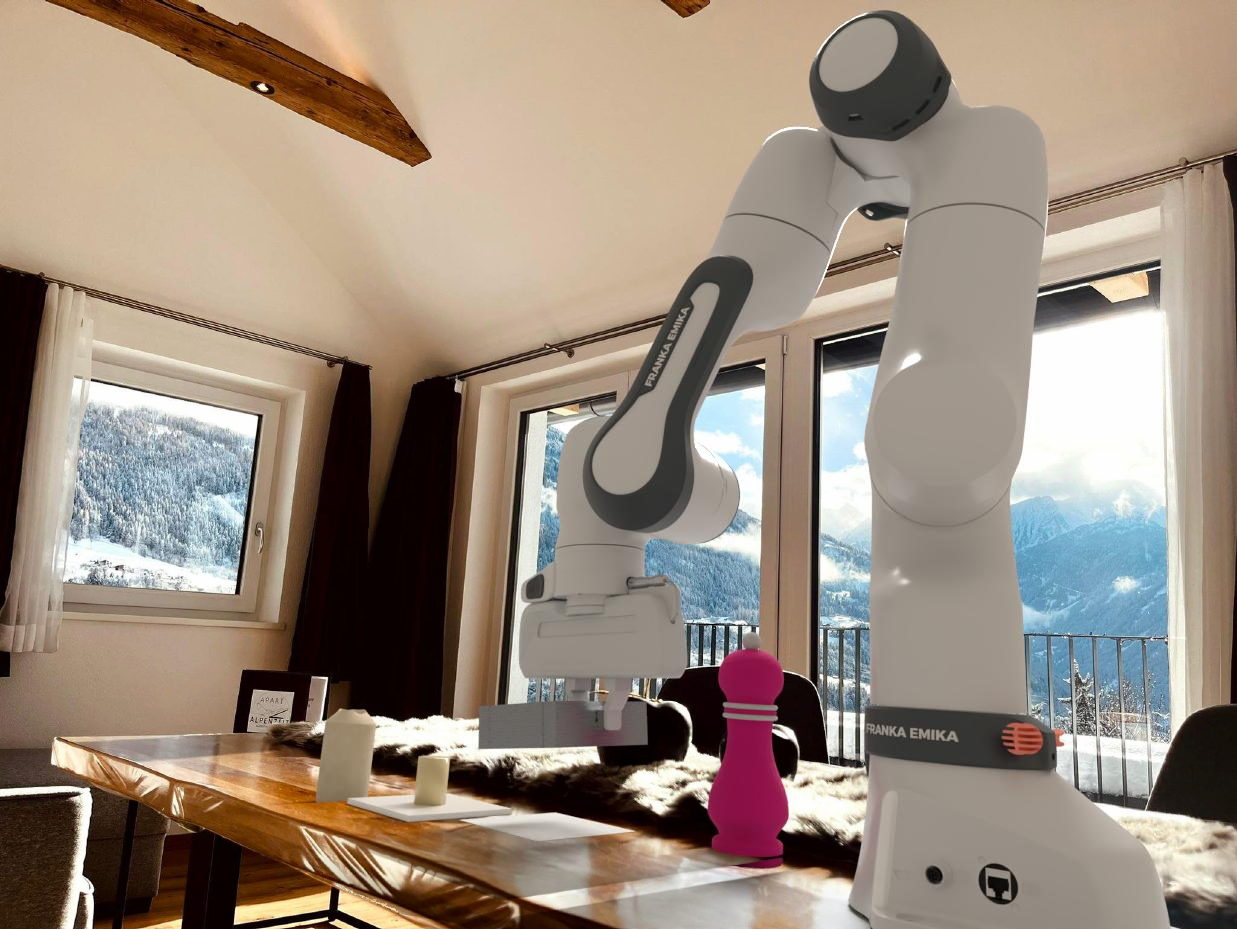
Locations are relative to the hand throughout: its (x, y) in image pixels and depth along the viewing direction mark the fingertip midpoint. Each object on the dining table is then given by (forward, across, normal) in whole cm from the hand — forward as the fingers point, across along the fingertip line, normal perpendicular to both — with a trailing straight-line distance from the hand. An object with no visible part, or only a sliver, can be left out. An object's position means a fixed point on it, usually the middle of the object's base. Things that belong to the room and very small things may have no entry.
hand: (596, 729), depth 83 cm
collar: (+2, +5, 0) cm, 5 cm away
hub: (+9, +19, +5) cm, 22 cm away
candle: (+9, +32, +8) cm, 35 cm away
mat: (+10, +6, 0) cm, 12 cm away
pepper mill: (+11, -11, -8) cm, 18 cm away
